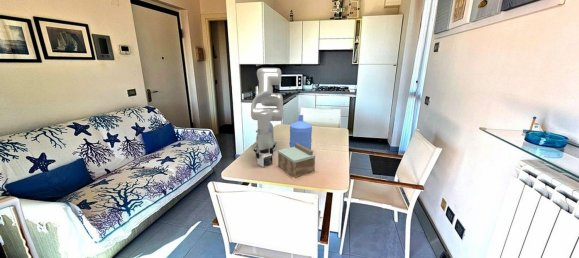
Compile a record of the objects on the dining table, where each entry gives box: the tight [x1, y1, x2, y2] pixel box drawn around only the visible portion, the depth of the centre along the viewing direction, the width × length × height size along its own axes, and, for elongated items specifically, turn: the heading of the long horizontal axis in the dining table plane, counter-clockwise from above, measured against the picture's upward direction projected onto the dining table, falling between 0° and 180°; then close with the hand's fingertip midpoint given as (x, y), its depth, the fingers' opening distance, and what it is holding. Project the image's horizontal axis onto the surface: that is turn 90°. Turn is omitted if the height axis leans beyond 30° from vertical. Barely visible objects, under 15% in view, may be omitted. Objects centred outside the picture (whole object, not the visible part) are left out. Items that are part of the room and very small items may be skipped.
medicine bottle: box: [256, 149, 273, 168], centre depth 152 cm, size 7×7×12 cm
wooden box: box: [277, 152, 316, 179], centre depth 146 cm, size 18×15×9 cm
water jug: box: [289, 114, 313, 150], centre depth 169 cm, size 16×16×28 cm
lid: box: [277, 143, 316, 163], centre depth 145 cm, size 18×15×4 cm
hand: (264, 156), depth 152 cm, fingers open, 9 cm apart
